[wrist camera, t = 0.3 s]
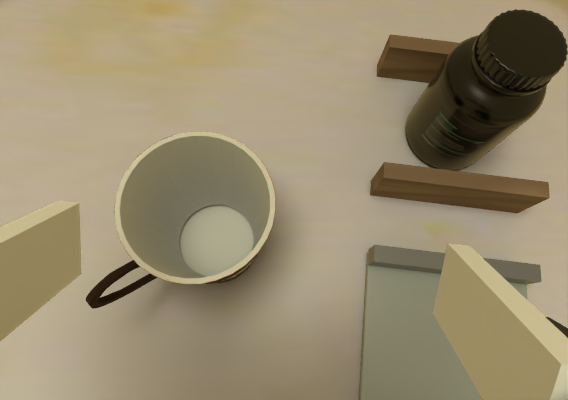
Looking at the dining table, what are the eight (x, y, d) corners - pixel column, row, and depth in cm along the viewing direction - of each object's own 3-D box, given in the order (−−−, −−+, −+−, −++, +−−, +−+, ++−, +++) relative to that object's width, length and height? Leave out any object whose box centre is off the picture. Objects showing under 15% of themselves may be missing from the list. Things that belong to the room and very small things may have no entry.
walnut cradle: (517, 212, 34) (549, 197, 30) (370, 194, 34) (383, 177, 30) (510, 80, 37) (537, 52, 33) (377, 64, 37) (390, 34, 33)
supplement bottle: (436, 85, 37) (511, -25, 25) (498, 134, 36) (608, 42, 24) (387, 135, 35) (445, 41, 24) (451, 188, 34) (545, 117, 23)
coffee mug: (258, 177, 34) (254, 117, 24) (285, 281, 31) (293, 260, 22) (113, 211, 32) (48, 161, 23) (129, 322, 30) (65, 319, 20)
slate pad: (531, 450, 28) (553, 460, 26) (357, 428, 28) (365, 437, 26) (520, 269, 32) (540, 264, 30) (367, 250, 32) (374, 244, 30)
